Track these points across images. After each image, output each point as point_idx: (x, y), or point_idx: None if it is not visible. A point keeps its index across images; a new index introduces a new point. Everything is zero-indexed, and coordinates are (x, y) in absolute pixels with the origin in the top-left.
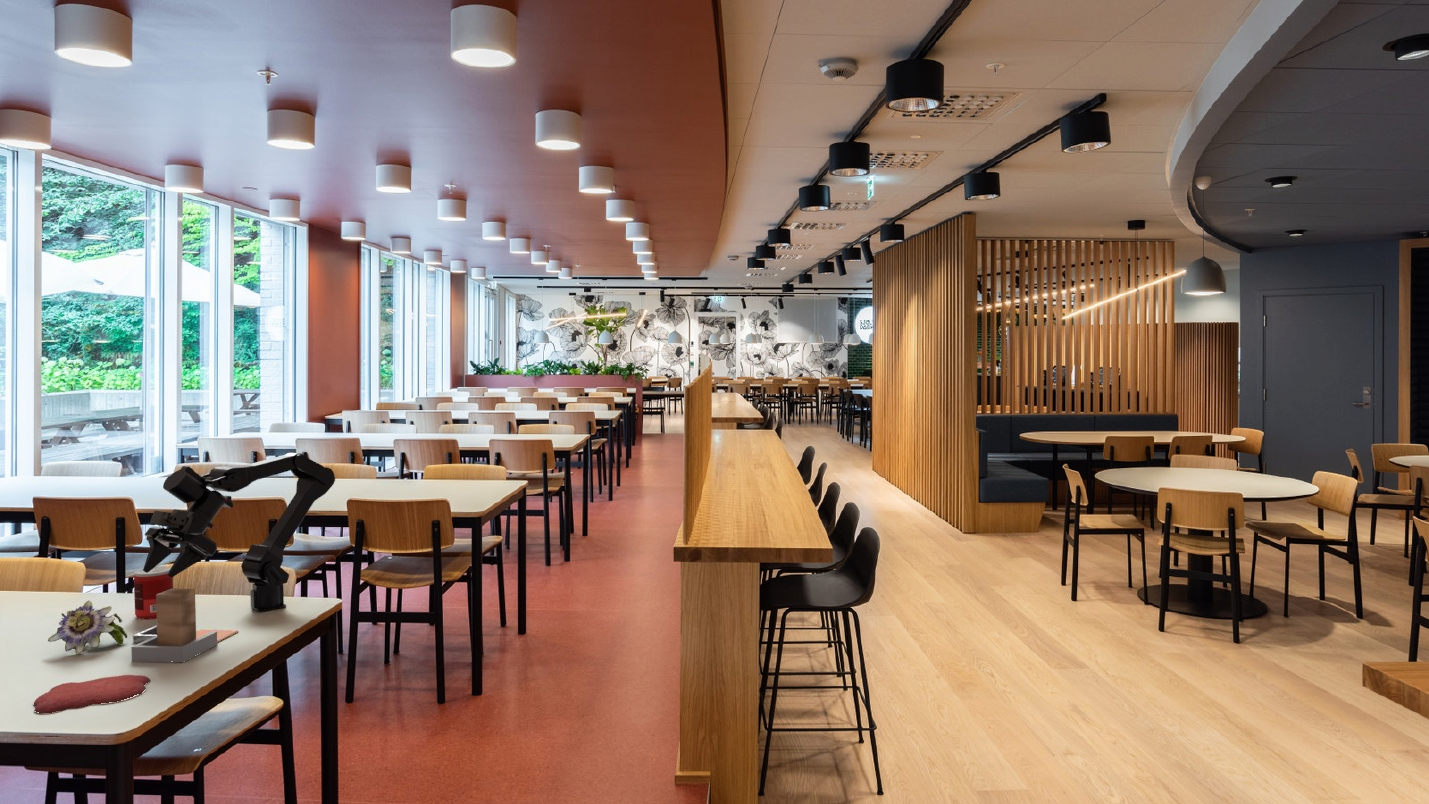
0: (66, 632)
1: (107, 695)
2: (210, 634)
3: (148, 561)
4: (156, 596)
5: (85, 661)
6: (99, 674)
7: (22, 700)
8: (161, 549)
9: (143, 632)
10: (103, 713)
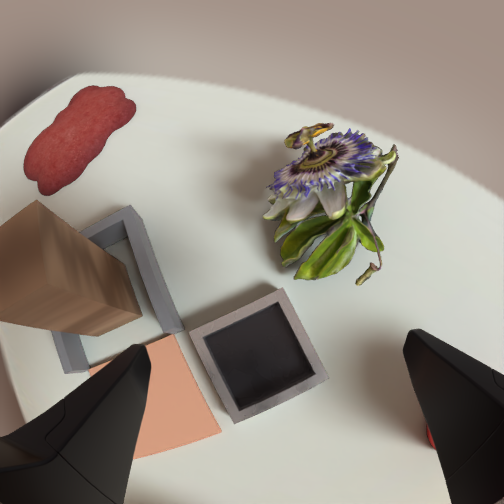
0: (320, 144)
1: (40, 134)
2: (58, 351)
3: (442, 360)
4: (39, 203)
5: (230, 172)
6: (133, 159)
7: (140, 82)
8: (490, 468)
9: (285, 316)
10: (29, 129)
